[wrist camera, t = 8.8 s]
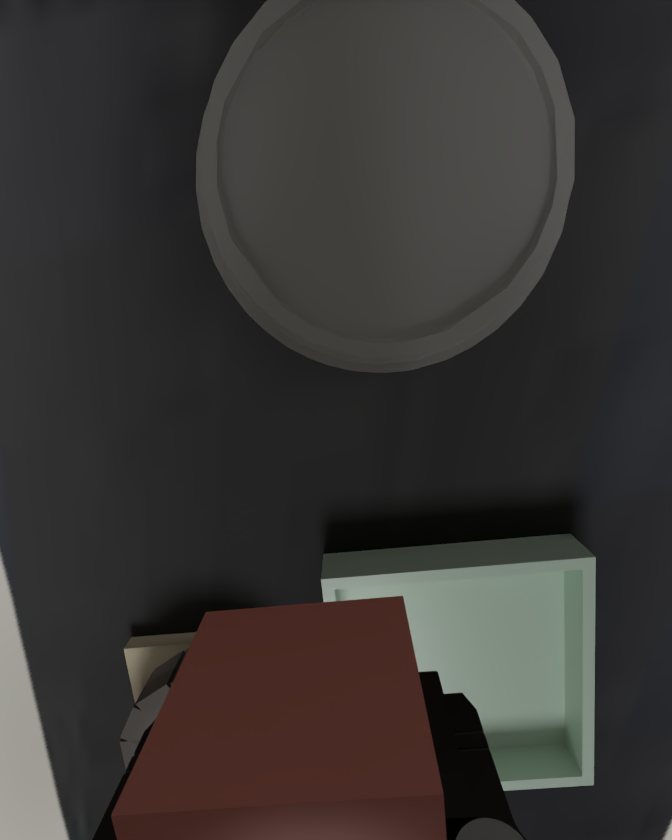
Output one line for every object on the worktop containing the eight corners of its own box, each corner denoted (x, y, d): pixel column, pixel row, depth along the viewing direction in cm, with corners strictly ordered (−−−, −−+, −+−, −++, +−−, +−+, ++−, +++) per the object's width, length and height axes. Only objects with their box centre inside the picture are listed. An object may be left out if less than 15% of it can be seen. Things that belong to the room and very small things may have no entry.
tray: (323, 554, 26) (321, 579, 23) (570, 533, 25) (595, 556, 23) (346, 757, 28) (346, 800, 26) (570, 742, 28) (593, 785, 25)
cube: (205, 612, 12) (110, 816, 7) (402, 595, 12) (443, 794, 7) (235, 771, 13) (170, 1043, 8) (416, 759, 13) (459, 1029, 8)
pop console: (131, 637, 27) (100, 682, 24) (288, 624, 27) (280, 669, 23) (158, 768, 29) (133, 829, 25) (306, 759, 28) (301, 818, 25)
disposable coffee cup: (505, 217, 22) (687, 98, 10) (391, 387, 24) (435, 449, 12) (335, 95, 21) (323, -186, 10) (228, 280, 23) (105, 235, 11)
